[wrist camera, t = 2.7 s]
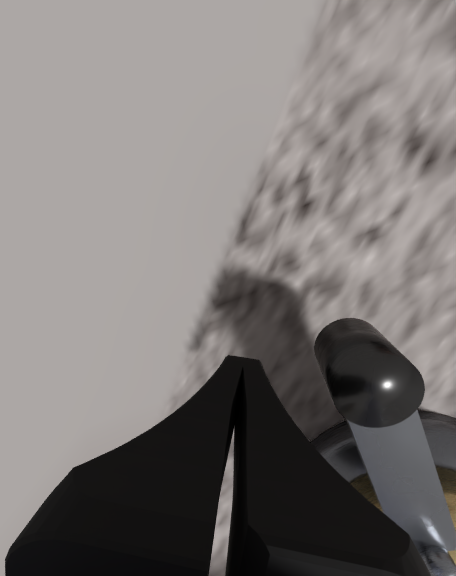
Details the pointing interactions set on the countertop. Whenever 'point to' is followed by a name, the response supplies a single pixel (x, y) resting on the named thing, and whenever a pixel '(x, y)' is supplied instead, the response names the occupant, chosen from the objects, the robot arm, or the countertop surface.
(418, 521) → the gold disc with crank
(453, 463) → the mounting plate
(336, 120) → the countertop surface
